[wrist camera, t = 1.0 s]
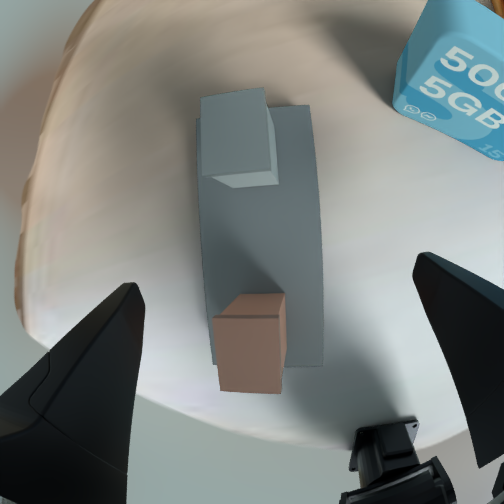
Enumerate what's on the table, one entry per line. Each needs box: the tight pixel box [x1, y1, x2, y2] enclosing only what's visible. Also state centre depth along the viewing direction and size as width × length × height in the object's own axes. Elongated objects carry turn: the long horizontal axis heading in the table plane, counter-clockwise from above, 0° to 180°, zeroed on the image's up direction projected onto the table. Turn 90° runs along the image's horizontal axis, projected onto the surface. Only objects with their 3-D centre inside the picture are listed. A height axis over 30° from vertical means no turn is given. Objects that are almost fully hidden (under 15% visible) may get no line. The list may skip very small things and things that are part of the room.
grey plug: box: [200, 88, 279, 188], centre depth 16 cm, size 4×3×8 cm
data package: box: [392, 0, 504, 161], centre depth 12 cm, size 12×4×12 cm, turn 74°
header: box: [196, 105, 323, 367], centre depth 20 cm, size 18×8×3 cm, turn 4°
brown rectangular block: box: [212, 293, 287, 394], centre depth 17 cm, size 4×3×8 cm
